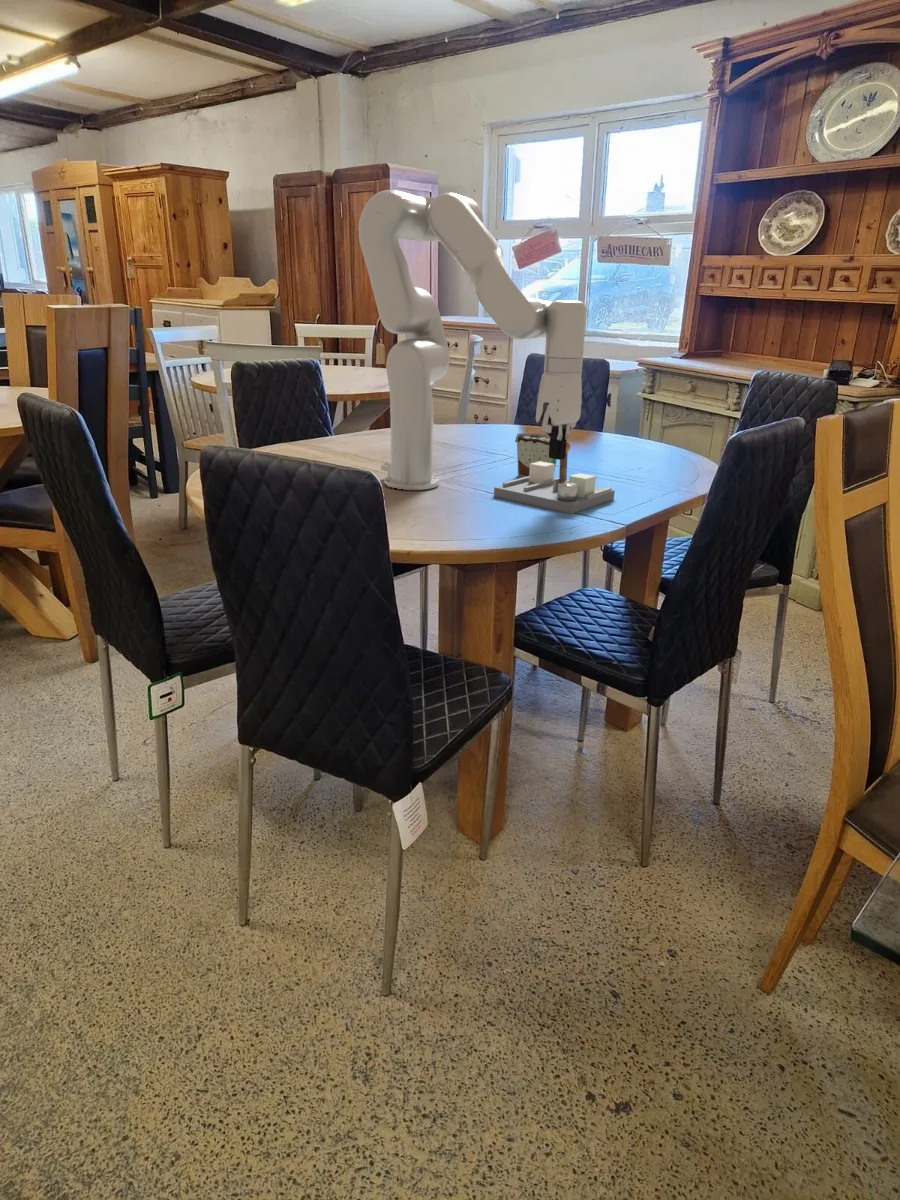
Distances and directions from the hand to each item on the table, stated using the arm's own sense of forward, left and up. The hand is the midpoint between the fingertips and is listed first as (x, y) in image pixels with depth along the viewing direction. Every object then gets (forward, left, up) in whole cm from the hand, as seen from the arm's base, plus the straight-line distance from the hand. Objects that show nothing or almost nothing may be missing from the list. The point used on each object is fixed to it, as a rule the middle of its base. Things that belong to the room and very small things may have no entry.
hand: (556, 458), depth 159 cm
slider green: (+5, +3, -8) cm, 9 cm away
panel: (-2, +4, -10) cm, 10 cm away
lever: (0, +4, -7) cm, 8 cm away
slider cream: (-8, +7, -8) cm, 13 cm away
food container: (-16, +19, -10) cm, 27 cm away
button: (+5, -2, -8) cm, 9 cm away
